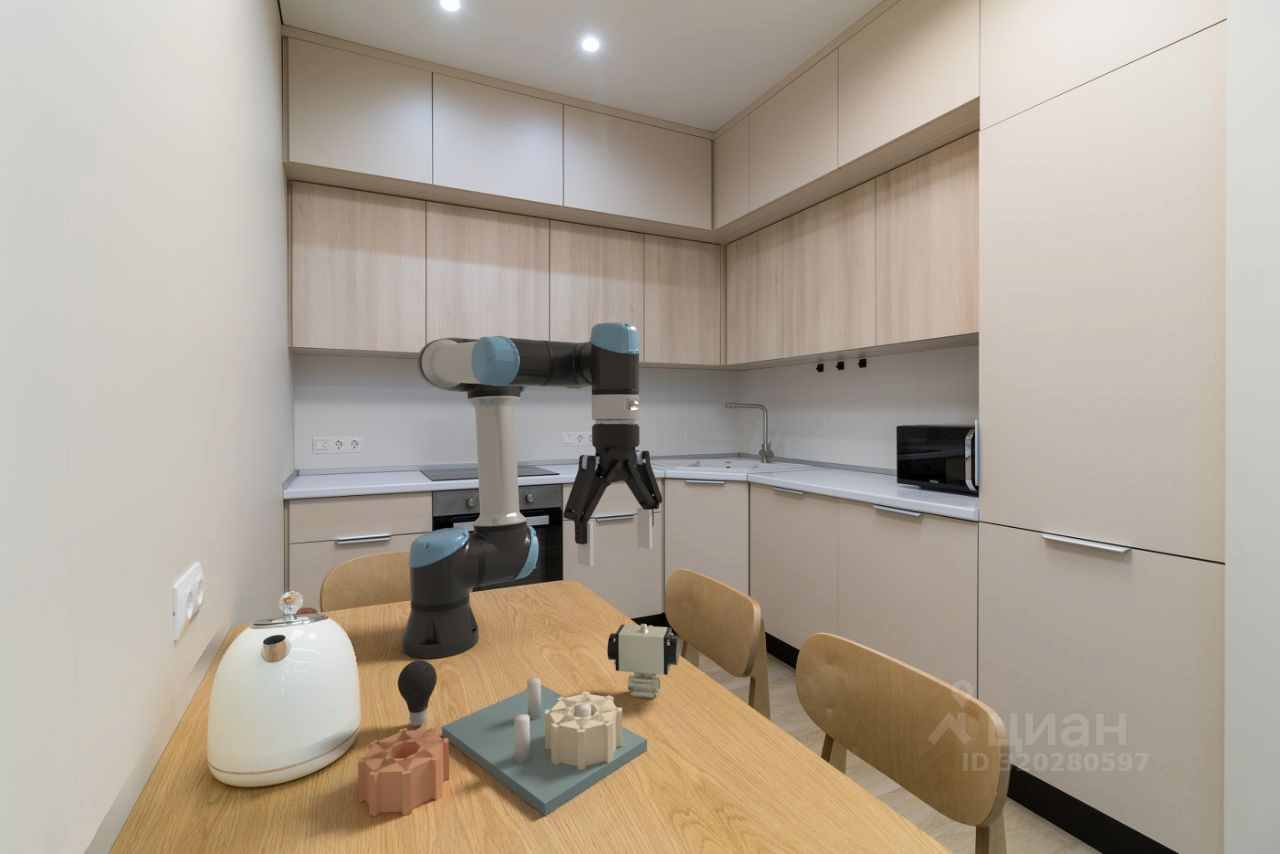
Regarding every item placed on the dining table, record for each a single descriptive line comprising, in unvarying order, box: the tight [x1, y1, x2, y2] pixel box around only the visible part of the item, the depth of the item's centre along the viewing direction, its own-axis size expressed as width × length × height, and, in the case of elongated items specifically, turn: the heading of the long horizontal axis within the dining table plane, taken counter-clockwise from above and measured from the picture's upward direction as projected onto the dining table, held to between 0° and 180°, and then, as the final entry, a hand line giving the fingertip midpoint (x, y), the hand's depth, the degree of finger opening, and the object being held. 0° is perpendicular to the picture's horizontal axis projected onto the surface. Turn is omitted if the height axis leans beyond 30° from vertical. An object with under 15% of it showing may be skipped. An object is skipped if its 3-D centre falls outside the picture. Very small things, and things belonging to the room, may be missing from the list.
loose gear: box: [357, 727, 450, 817], centre depth 74 cm, size 10×10×5 cm
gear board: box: [441, 677, 648, 816], centre depth 83 cm, size 25×18×7 cm
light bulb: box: [397, 659, 438, 728], centre depth 88 cm, size 6×6×10 cm
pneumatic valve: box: [606, 623, 681, 699], centre depth 98 cm, size 6×12×12 cm, turn 78°
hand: (617, 556), depth 91 cm, fingers open, 13 cm apart
